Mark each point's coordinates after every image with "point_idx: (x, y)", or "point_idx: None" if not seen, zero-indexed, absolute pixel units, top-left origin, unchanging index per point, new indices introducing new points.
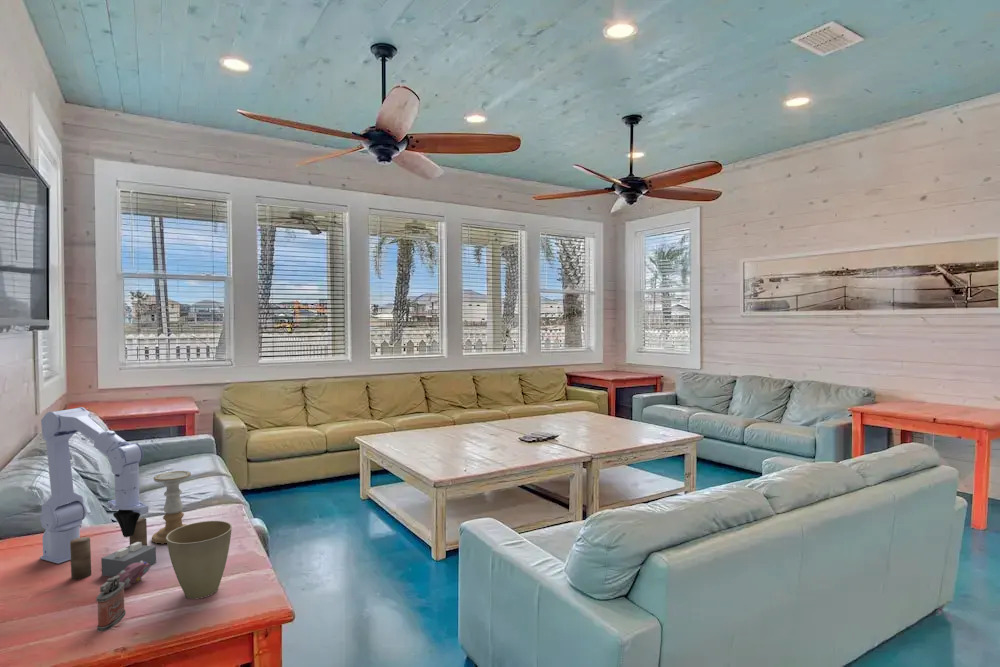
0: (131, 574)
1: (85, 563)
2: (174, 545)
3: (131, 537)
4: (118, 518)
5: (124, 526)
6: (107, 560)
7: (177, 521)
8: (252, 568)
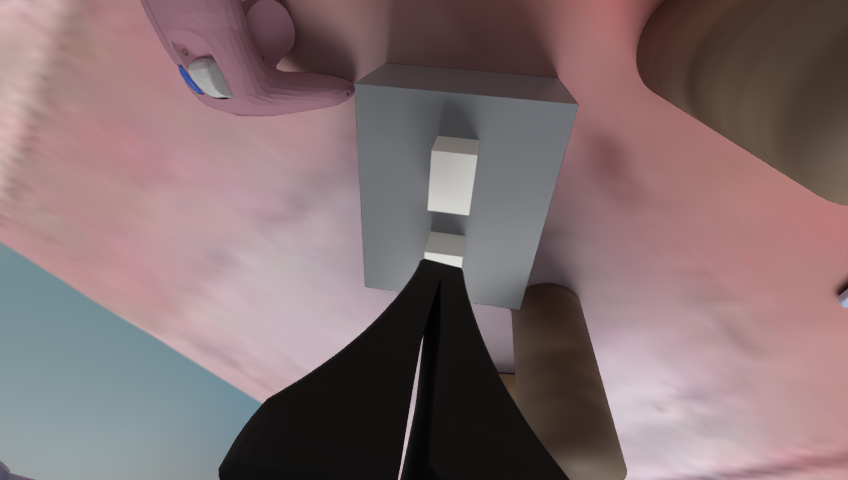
0: None
1: (687, 36)
2: None
3: (569, 358)
4: (455, 419)
5: (396, 322)
6: (514, 95)
7: None
8: (13, 226)
